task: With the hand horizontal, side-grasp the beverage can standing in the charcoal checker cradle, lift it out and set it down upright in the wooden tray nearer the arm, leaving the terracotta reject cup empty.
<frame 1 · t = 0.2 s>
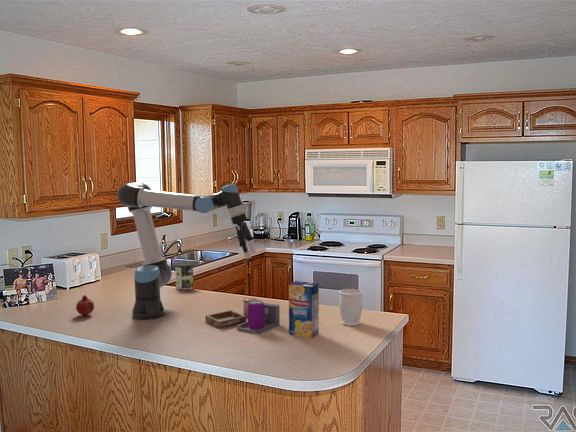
hand: (251, 255, 266), 27 cm above the worktop, tool tilted 15°, fingers open, 13 cm apart
wooden tray: (225, 322, 248), on the worktop
fruit: (85, 315, 261), on the worktop
checker cradle: (256, 327, 239), on the worktop
reject cup: (249, 316, 257), on the worktop
coffee can: (184, 287, 316), on the worktop
beverage can: (256, 328, 239), resting in checker cradle
jar: (350, 323, 245), on the worktop
beverage box: (304, 334, 230), on the worktop
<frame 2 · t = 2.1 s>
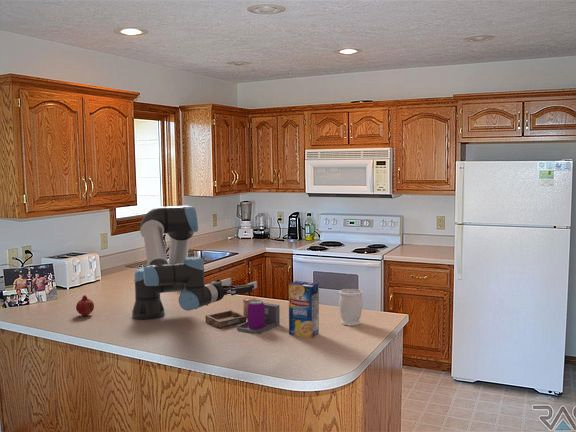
hand: (243, 282, 229), 22 cm above the worktop, tool horizontal, fingers open, 13 cm apart
nothing on the worktop moved.
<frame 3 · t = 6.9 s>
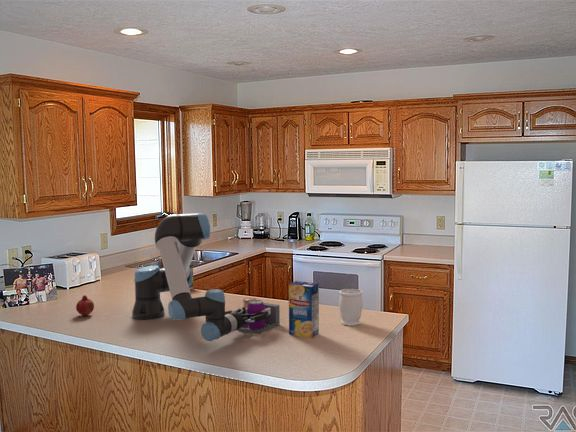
hand: (262, 309, 242), 7 cm above the worktop, tool horizontal, fingers closed on beverage can, 8 cm apart
beverage can: (256, 328, 239), resting in checker cradle, touching gripper
everything else where it was.
when the fingers open (9 cm above the worktop, at t = 11.8 s): beverage can drops 1 cm, resting on wooden tray.
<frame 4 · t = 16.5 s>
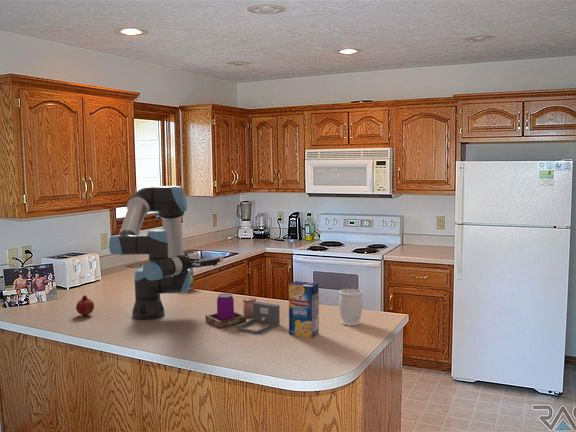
hand: (210, 257, 237), 32 cm above the worktop, tool horizontal, fingers open, 13 cm apart
beverage can: (225, 320, 248), point 1 cm above the worktop, touching wooden tray
everything else where it was.
at the end: beverage can inside the target area on the wooden tray (0.1 cm from its centre), point 0.6 cm above the wooden tray's base; beverage can tilted 0°; the gripper is holding nothing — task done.
